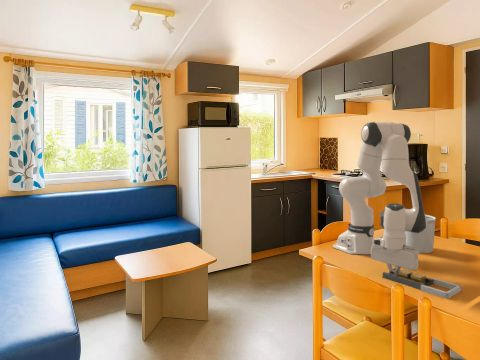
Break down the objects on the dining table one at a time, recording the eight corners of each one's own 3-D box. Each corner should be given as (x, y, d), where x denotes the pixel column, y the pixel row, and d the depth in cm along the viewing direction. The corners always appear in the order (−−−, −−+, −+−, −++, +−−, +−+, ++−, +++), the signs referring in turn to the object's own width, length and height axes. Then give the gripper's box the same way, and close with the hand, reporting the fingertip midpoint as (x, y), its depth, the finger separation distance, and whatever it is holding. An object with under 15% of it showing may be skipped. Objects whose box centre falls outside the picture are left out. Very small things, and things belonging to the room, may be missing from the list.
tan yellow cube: (397, 279, 159) (398, 271, 159) (403, 277, 162) (403, 269, 161) (407, 282, 156) (407, 274, 156) (412, 280, 159) (412, 271, 158)
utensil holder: (435, 255, 193) (437, 220, 191) (403, 252, 199) (404, 218, 197) (433, 247, 207) (434, 214, 205) (402, 244, 212) (403, 213, 210)
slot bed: (381, 279, 162) (381, 272, 162) (395, 274, 168) (395, 267, 168) (421, 292, 149) (421, 284, 148) (434, 285, 155) (434, 278, 154)
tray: (420, 292, 148) (420, 285, 148) (434, 285, 155) (435, 278, 155) (447, 301, 140) (447, 293, 140) (461, 293, 147) (461, 285, 147)
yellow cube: (410, 283, 155) (410, 275, 155) (415, 281, 158) (416, 272, 157) (420, 286, 152) (420, 277, 152) (425, 283, 154) (425, 275, 154)
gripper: (422, 246, 155) (421, 280, 157) (377, 236, 171) (376, 267, 173) (414, 249, 151) (412, 283, 153) (368, 239, 168) (368, 270, 169)
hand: (393, 274), depth 163 cm, fingers closed
